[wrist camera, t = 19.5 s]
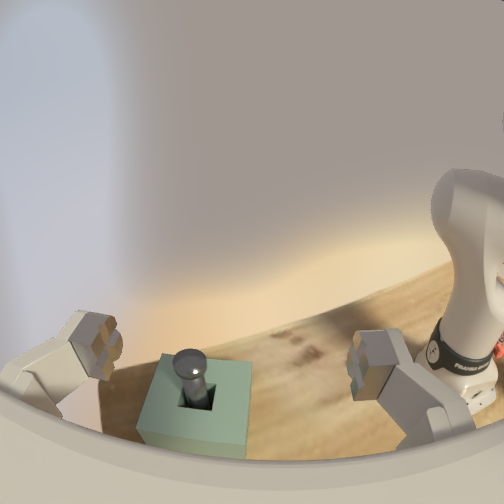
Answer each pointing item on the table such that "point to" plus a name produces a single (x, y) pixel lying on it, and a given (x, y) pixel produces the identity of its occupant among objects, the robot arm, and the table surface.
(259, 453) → the table surface
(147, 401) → the socket block
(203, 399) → the pin
